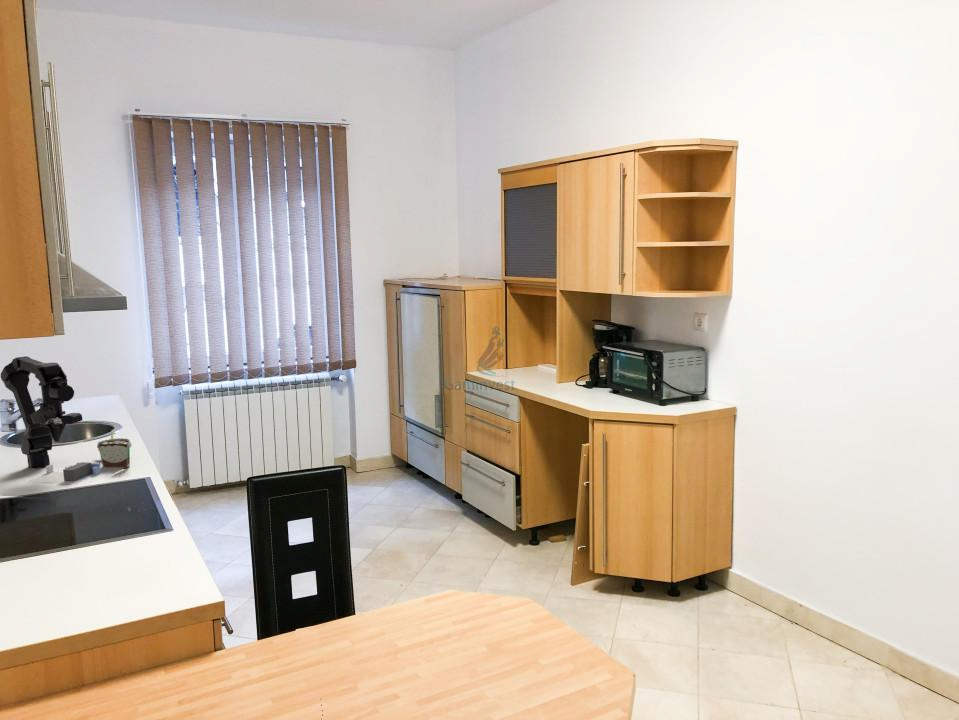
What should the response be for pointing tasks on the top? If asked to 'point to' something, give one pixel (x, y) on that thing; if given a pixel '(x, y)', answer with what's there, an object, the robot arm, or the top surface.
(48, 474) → the miniature room diorama
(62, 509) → the top surface
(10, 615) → the top surface
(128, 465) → the food container
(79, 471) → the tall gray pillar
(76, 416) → the robot arm
